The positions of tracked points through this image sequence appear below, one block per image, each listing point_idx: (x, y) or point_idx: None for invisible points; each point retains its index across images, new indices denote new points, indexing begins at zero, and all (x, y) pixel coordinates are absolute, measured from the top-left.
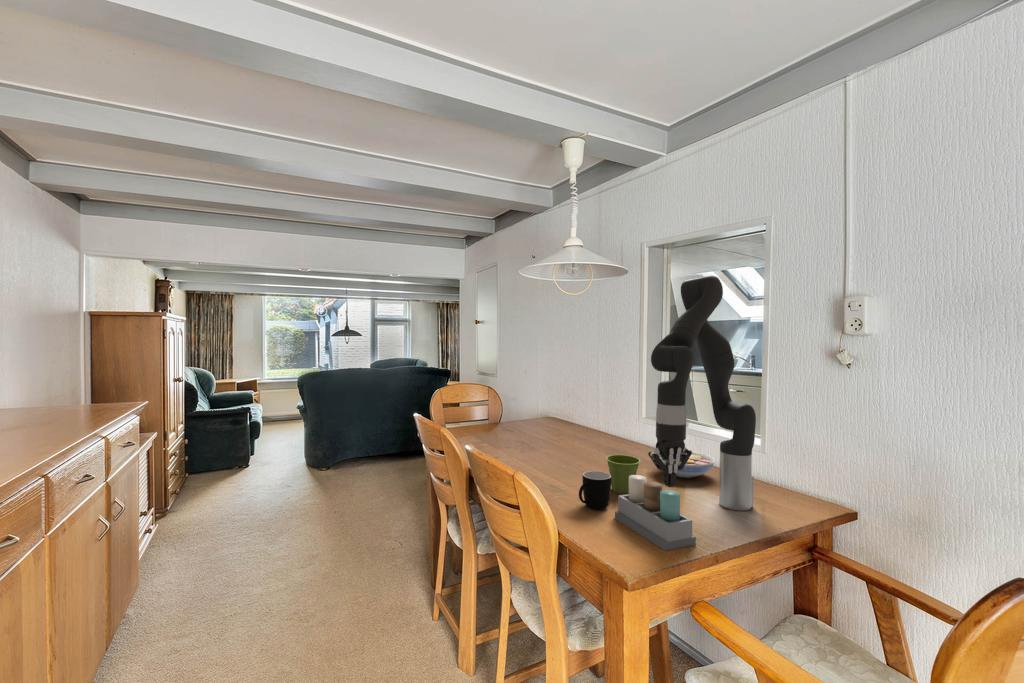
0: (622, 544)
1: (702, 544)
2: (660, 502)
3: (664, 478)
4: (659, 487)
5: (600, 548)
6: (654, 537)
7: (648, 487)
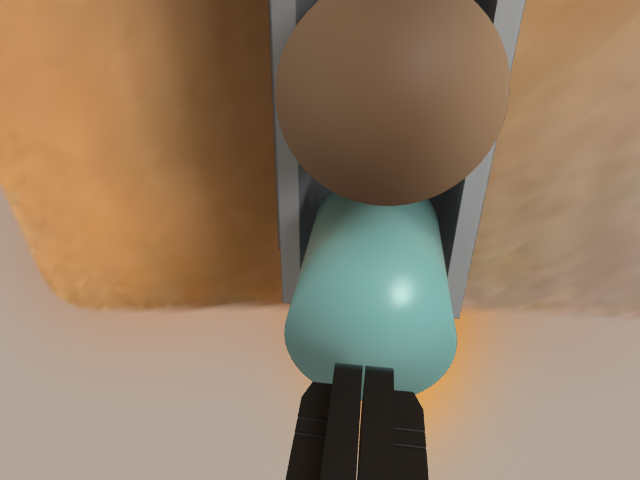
0: (131, 108)
1: (496, 254)
2: (306, 256)
3: (293, 442)
4: (393, 199)
5: (12, 101)
6: (277, 179)
7: (285, 138)
